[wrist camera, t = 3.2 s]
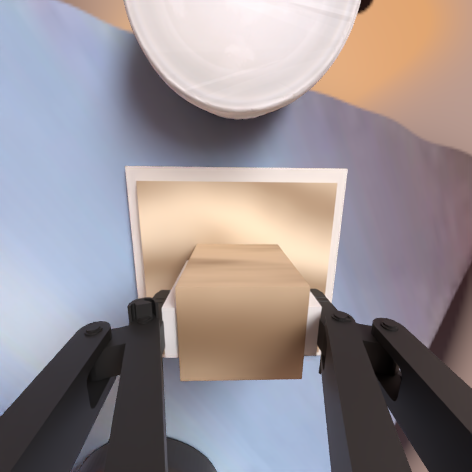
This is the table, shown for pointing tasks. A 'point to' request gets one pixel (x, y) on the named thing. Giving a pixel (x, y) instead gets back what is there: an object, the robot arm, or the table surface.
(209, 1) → the ramekin
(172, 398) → the table surface
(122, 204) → the table surface
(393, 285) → the table surface
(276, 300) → the birch lid
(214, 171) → the white square panel
